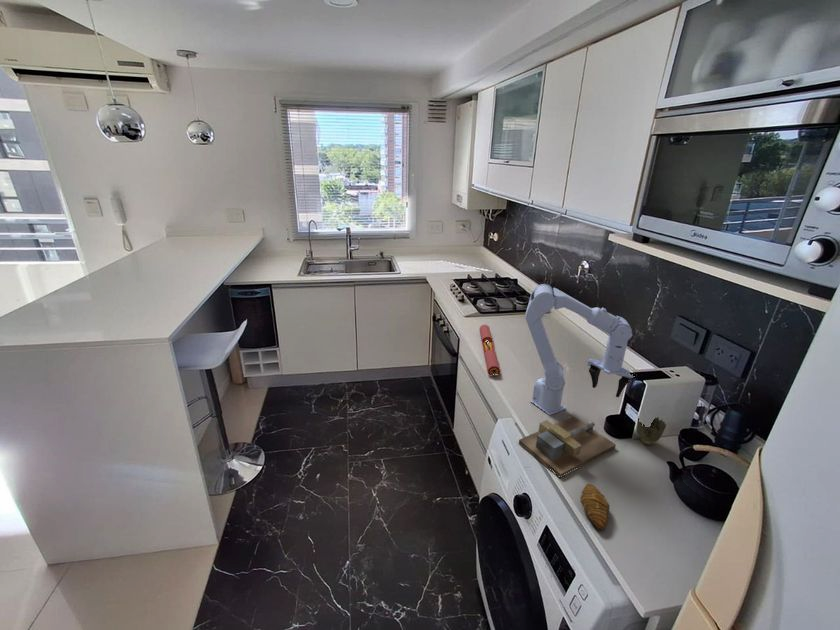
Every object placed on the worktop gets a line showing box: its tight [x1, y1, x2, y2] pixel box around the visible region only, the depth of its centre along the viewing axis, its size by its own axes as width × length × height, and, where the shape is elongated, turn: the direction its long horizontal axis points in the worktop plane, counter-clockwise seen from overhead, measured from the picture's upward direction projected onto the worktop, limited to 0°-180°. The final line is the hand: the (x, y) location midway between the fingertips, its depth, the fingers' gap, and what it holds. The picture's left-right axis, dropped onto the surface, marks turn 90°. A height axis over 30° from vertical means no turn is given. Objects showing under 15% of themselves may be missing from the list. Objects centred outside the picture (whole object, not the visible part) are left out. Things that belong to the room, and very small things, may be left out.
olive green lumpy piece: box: [636, 416, 667, 446], centre depth 119 cm, size 8×7×8 cm
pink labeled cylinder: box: [478, 324, 501, 376], centre depth 175 cm, size 42×5×5 cm, turn 176°
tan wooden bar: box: [538, 419, 582, 457], centre depth 115 cm, size 13×3×5 cm, turn 30°
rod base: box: [518, 415, 617, 478], centre depth 118 cm, size 16×24×6 cm, turn 120°
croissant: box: [580, 483, 610, 532], centre depth 96 cm, size 14×7×5 cm, turn 169°
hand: (606, 391), depth 130 cm, fingers open, 7 cm apart
